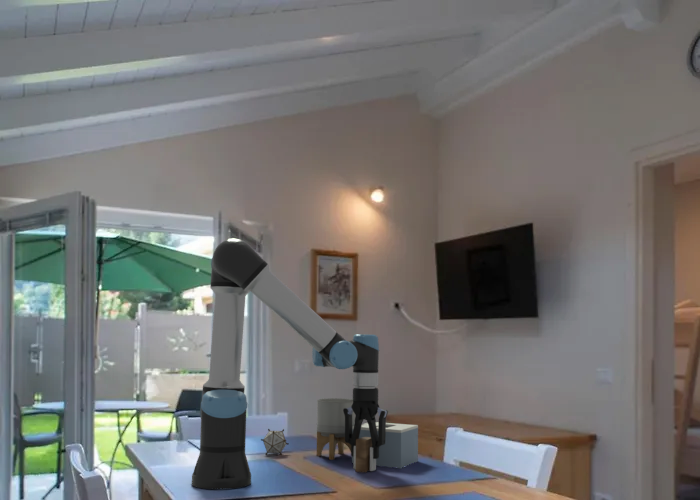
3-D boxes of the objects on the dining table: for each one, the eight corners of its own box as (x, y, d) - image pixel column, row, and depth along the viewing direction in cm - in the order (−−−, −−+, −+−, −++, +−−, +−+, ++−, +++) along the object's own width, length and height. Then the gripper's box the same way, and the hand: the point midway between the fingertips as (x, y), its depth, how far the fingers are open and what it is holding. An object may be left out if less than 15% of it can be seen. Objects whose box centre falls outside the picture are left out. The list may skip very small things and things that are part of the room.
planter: (311, 458, 222) (312, 401, 224) (322, 452, 235) (323, 397, 237) (351, 460, 219) (352, 402, 221) (360, 454, 232) (361, 399, 234)
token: (373, 469, 206) (374, 437, 207) (364, 472, 200) (365, 440, 202) (364, 468, 207) (364, 436, 208) (355, 471, 202) (355, 439, 203)
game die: (278, 465, 230) (296, 439, 234) (274, 460, 223) (292, 433, 226) (257, 450, 233) (275, 424, 236) (252, 444, 226) (271, 418, 229)
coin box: (400, 468, 207) (401, 430, 209) (352, 463, 214) (352, 426, 216) (417, 461, 220) (418, 425, 221) (371, 456, 227) (371, 421, 228)
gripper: (398, 387, 206) (397, 470, 203) (344, 385, 214) (343, 464, 211) (388, 389, 200) (387, 474, 197) (333, 386, 207) (331, 468, 204)
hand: (364, 469), depth 204 cm, fingers open, 4 cm apart
